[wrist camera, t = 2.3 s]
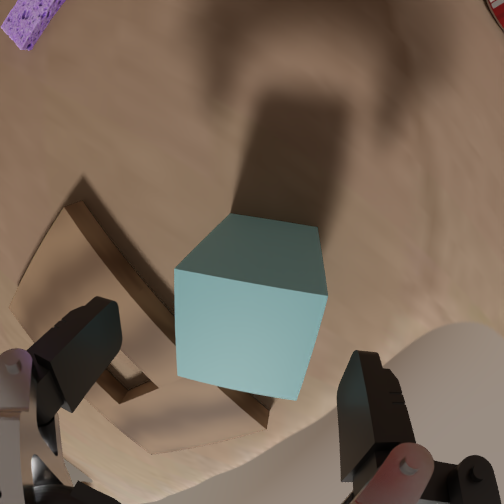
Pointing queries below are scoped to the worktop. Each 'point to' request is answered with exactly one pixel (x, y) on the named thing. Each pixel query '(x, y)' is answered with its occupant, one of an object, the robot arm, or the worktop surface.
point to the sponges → (29, 21)
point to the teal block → (250, 306)
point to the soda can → (497, 11)
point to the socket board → (129, 341)
